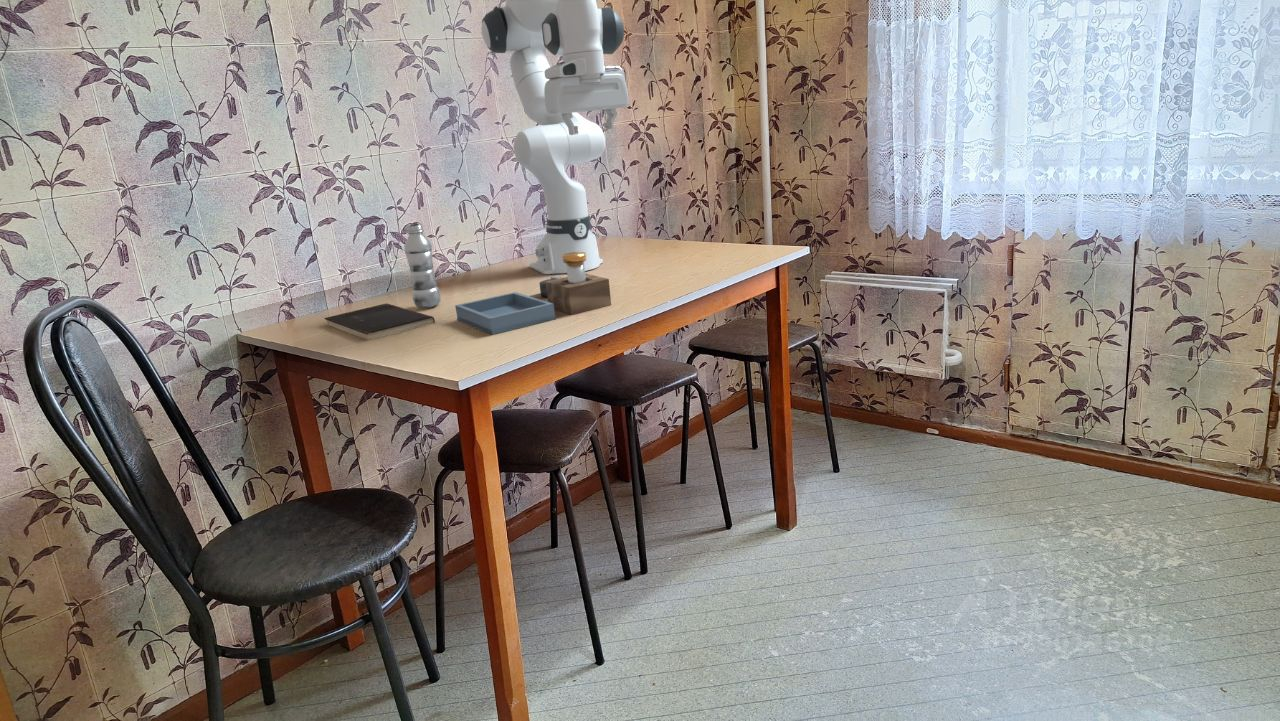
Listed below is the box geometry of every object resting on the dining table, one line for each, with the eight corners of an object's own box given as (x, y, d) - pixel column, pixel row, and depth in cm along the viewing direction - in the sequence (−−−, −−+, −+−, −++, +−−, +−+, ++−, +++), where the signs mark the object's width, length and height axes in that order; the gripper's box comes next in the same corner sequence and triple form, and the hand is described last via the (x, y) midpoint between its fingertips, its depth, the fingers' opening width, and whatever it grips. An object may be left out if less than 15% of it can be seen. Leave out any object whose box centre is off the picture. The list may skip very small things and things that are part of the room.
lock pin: (564, 306, 190) (558, 255, 186) (583, 302, 192) (577, 251, 189) (575, 310, 185) (569, 257, 182) (595, 305, 188) (590, 253, 184)
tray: (457, 320, 186) (455, 305, 185) (517, 306, 194) (515, 292, 193) (492, 334, 172) (489, 318, 171) (555, 319, 179) (553, 303, 178)
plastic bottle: (447, 303, 203) (434, 221, 197) (432, 310, 197) (418, 226, 191) (424, 303, 205) (410, 222, 199) (409, 310, 199) (394, 227, 193)
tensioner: (530, 301, 197) (527, 277, 196) (567, 293, 203) (565, 268, 201) (571, 314, 182) (568, 288, 180) (611, 304, 187) (608, 278, 186)
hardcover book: (368, 343, 176) (366, 332, 175) (326, 327, 193) (324, 317, 192) (435, 325, 186) (434, 315, 185) (390, 311, 203) (388, 302, 202)
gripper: (615, 66, 190) (621, 129, 194) (537, 71, 179) (545, 137, 183) (631, 63, 185) (637, 127, 189) (552, 68, 174) (560, 136, 178)
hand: (591, 132), depth 186 cm, fingers open, 8 cm apart
